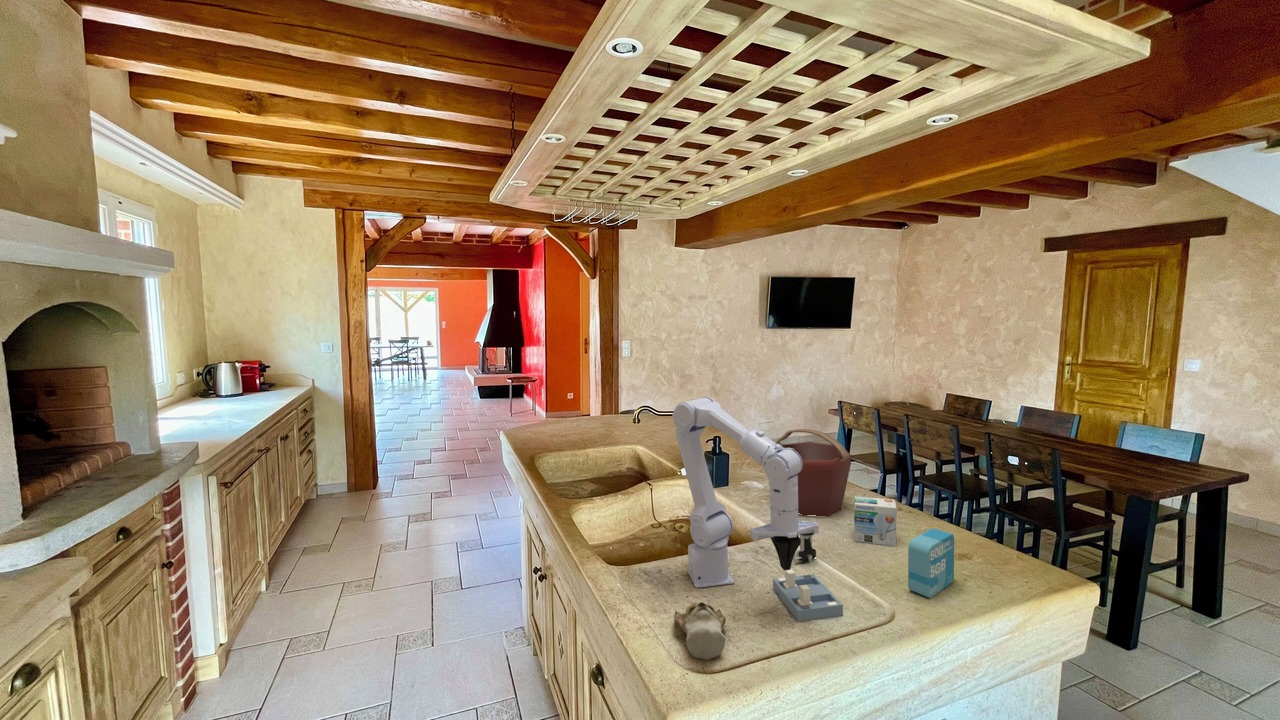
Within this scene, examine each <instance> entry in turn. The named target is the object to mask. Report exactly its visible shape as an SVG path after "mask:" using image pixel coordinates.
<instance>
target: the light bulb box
mask: <svg viewBox="0 0 1280 720" xmlns="http://www.w3.org/2000/svg"><path fill="white" fill-rule="evenodd" d="M853 505H854V507H853V509H854V510H853V539H854V542H856V543H857V542H859V543H866V544H873V545H882V546H887V547H888V546H890V547H897V513H898V512H897V509H898V508H897V504H896V500H895V499H891V498H890V499H889V498H879V497H866V496H858V495H855V496H854V503H853Z"/></svg>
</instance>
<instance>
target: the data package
mask: <svg viewBox="0 0 1280 720" xmlns="http://www.w3.org/2000/svg"><path fill="white" fill-rule="evenodd" d="M907 548H908V549H907V551H908V552H907V553H908V554H907V555H908V556H907V560H908V561H907V567H908V568H907V569H908V570H907V571H908V572H907V574H908V575H907V578H908V579H907V583H908V585H907V586H908V589H909V590H910V591H912V592H915V593H916V594H920V595H921V596H924V597H926V598H929V599H932V598H933V597H934V596H935V595H938V593H940V592H941V591H943V590H944V589H946V588H947V587H949V586H950V585H951V584H952V583H953V581H954V578H955V536H954V534H953V533H950V532H946V531H943V530H940V529H937V528H934V527H931V528H930V529H928V530H926V531H924V532H922V533H920V534H919V535H917V536H915V537H914V538H912V539H911V540H909V542H908V547H907Z"/></svg>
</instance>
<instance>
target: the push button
mask: <svg viewBox="0 0 1280 720" xmlns="http://www.w3.org/2000/svg"><path fill="white" fill-rule="evenodd" d="M798 522H813V521H812V520H809V519H800V520H798ZM814 535H815V534H814V533H806V534H798V536H799V538H800V539H801V544H800V546H799V550H796V553H797V554H796V555H797V556H796V557H794V559H795V561H794V563H795V564H798V563H801V564H805V563H808V562H809V563H811V562H813V560H812V559H814V558H815V557H816V558H817V549H815V548H813V536H814Z"/></svg>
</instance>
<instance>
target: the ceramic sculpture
mask: <svg viewBox="0 0 1280 720" xmlns="http://www.w3.org/2000/svg"><path fill="white" fill-rule="evenodd" d="M686 608H687V609H686V612H685V613H680V612H678V611H676V610H675V611H674V618H673V621H674V624H675V626H676V628H677V629H679V630H680V631H682V632H683V633H685V634H686V639H685V644H686V647H687V650H688V651H689V653H690V654H691V656H693V657H694V658H695V659H696V658H697V659H700V658H701V660H704V659H705V660H704V661H709V660H712V659H713V658H717V657H719V656H720V655H721V654H722V652H723V650H724V648H725V645H726V636H725V634H724V633H722V632H723V631H722V629H723V627H724V626H725V624H726V623H727V622H726V620H727V618H726V616H724V615H723V613H722V611H721V609H720V608H719V609H717V610H716V609H715V607H714V606H713V605H711V603H708V602H703V601H702V602H699V601H698V602H693V603H692V604H690V605H689V606H688V607H686Z"/></svg>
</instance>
